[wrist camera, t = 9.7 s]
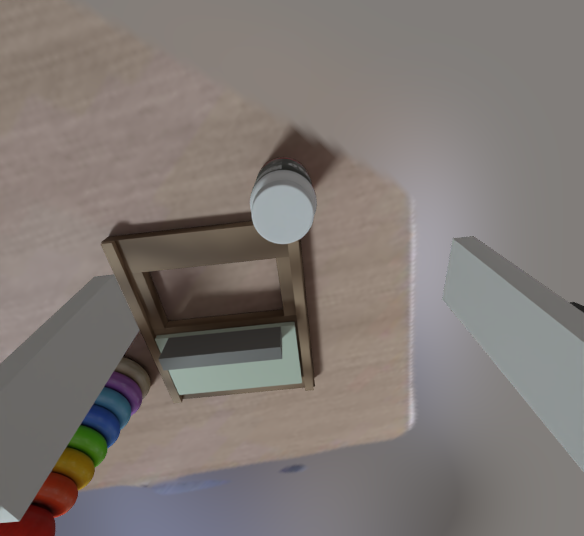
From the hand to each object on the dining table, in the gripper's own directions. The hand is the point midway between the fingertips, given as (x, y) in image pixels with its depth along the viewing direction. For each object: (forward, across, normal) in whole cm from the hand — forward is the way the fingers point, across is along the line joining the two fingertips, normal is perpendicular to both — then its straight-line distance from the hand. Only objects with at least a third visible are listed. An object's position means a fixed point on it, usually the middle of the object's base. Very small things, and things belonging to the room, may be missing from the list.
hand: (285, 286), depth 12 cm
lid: (+15, -8, -19) cm, 25 cm away
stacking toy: (+17, -23, -21) cm, 35 cm away
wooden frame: (+17, -8, -14) cm, 23 cm away
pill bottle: (+17, 0, 0) cm, 17 cm away
